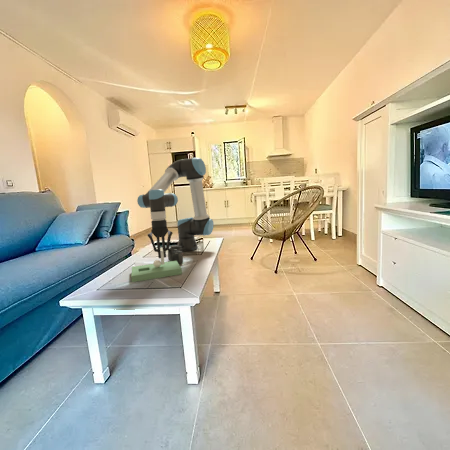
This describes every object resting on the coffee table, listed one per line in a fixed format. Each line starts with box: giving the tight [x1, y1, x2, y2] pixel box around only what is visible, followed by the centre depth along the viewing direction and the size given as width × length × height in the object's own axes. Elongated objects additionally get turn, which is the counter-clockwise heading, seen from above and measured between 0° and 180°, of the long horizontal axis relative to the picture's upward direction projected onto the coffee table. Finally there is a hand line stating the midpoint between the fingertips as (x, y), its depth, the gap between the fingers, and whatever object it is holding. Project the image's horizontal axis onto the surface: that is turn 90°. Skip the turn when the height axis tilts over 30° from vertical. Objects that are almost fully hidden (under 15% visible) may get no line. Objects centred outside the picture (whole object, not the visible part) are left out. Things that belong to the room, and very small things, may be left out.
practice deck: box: [131, 260, 183, 283], centre depth 128 cm, size 24×17×3 cm
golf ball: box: [152, 259, 161, 268], centre depth 128 cm, size 4×4×4 cm
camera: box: [167, 245, 184, 265], centre depth 148 cm, size 13×10×10 cm
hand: (162, 263), depth 129 cm, fingers closed
